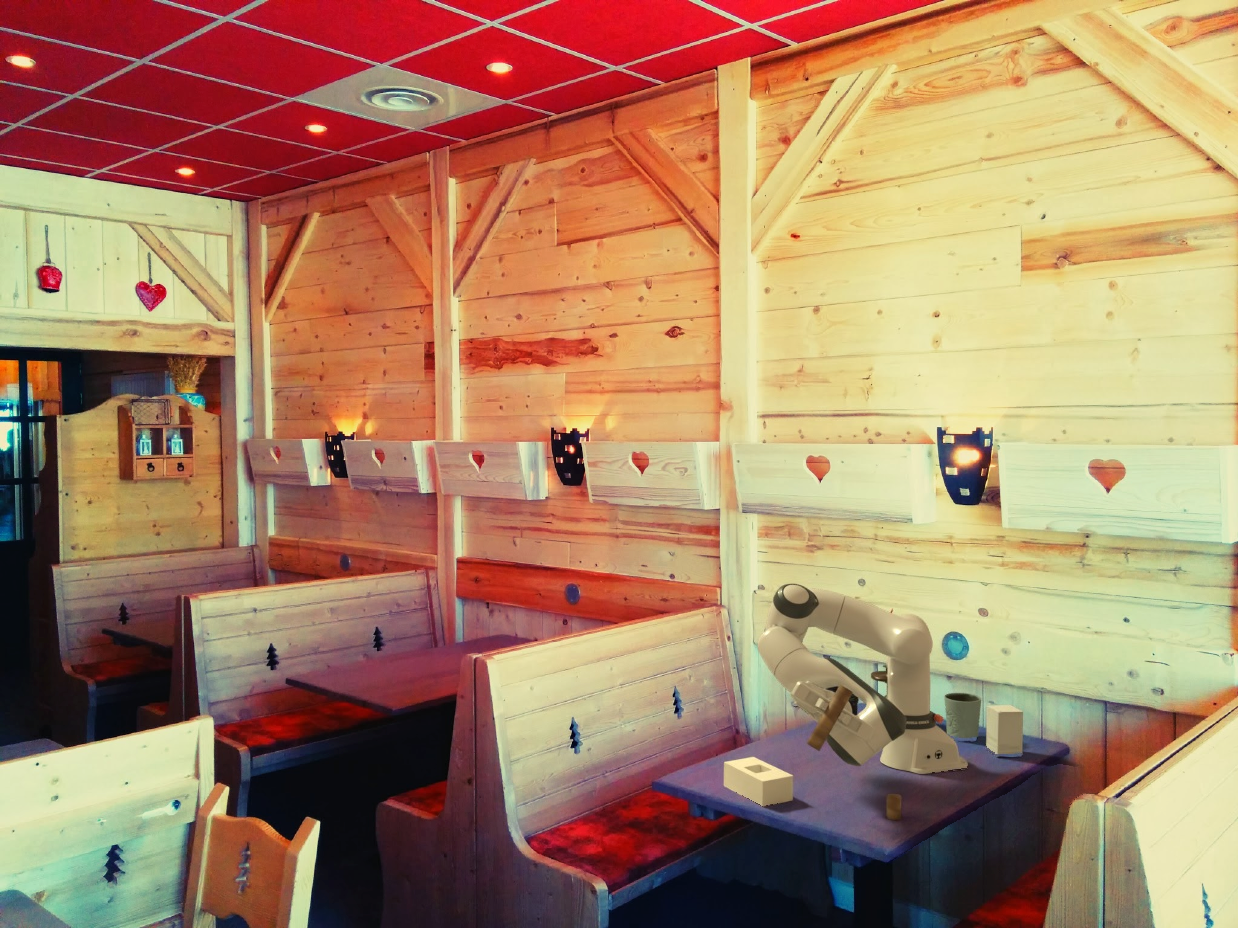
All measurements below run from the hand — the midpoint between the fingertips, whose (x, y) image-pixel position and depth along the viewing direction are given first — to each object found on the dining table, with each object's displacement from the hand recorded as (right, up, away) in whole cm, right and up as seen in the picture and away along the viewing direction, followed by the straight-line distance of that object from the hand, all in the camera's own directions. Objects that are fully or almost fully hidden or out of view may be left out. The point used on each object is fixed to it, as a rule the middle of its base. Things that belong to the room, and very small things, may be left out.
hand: (833, 711), depth 230 cm
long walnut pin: (-5, -8, 0) cm, 9 cm away
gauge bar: (-14, -26, +24) cm, 37 cm away
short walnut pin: (+16, -26, +8) cm, 32 cm away
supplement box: (+59, -25, +56) cm, 85 cm away
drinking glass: (+52, -25, +71) cm, 91 cm away
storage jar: (+18, -24, +74) cm, 80 cm away
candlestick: (+35, -24, +86) cm, 96 cm away
